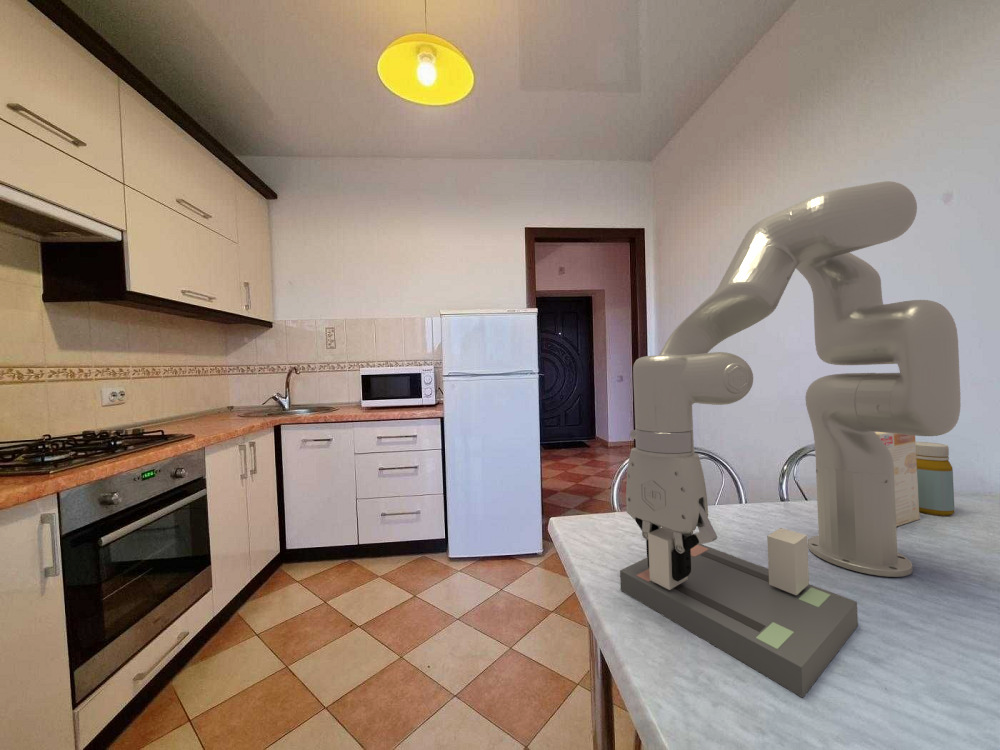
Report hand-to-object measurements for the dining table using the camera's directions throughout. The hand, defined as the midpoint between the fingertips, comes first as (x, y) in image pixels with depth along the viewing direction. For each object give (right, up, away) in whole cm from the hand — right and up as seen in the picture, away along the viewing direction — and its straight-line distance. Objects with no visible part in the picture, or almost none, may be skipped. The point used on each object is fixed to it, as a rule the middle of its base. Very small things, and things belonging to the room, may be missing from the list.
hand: (668, 570), depth 50 cm
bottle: (+73, -3, +29) cm, 78 cm away
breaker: (+16, -1, -2) cm, 16 cm away
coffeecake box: (+57, -4, +26) cm, 63 cm away
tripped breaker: (0, -1, 0) cm, 1 cm away
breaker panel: (+8, -4, -1) cm, 9 cm away
